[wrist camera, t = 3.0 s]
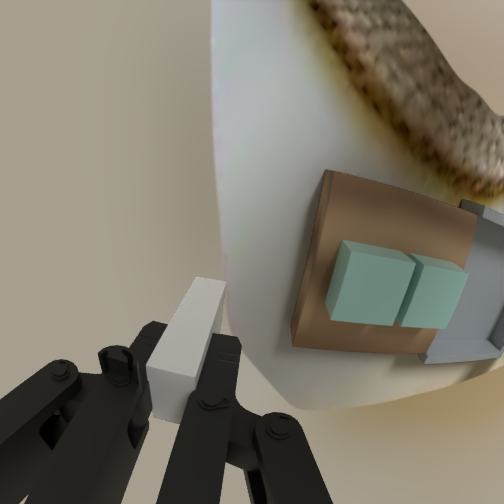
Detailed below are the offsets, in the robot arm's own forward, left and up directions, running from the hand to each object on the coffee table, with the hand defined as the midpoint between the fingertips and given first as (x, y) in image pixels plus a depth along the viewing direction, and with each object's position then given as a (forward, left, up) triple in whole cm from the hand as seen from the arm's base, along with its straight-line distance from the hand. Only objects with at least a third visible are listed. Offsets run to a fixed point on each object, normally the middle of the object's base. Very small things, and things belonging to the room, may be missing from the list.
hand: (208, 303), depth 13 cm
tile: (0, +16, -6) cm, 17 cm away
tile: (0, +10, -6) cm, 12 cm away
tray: (0, +28, -9) cm, 29 cm away
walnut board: (0, +13, -9) cm, 16 cm away
